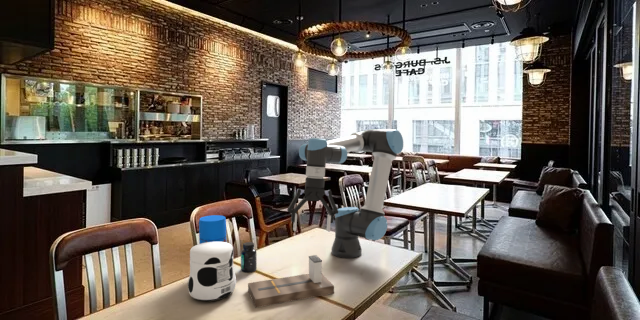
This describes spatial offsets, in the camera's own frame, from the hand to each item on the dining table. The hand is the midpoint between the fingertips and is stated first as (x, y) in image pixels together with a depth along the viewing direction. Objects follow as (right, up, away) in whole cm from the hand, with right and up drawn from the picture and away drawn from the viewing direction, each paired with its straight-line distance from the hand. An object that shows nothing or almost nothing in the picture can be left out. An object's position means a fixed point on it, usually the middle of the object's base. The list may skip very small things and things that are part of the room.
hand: (311, 230), depth 141 cm
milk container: (-37, -23, -7) cm, 44 cm away
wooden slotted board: (-8, -23, -5) cm, 24 cm away
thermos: (-42, -21, +10) cm, 48 cm away
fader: (+1, -19, -1) cm, 19 cm away
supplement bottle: (-28, -21, +16) cm, 39 cm away
